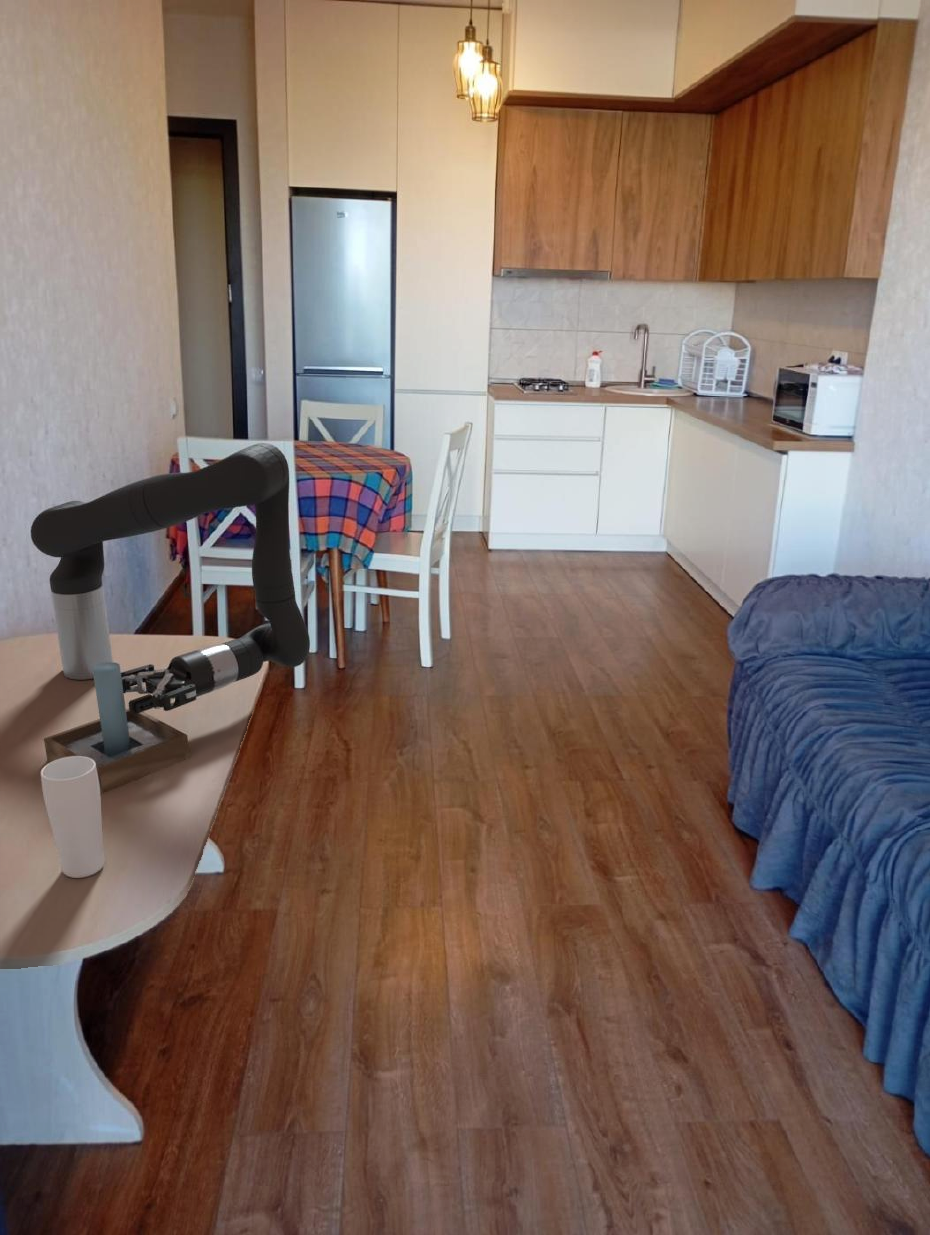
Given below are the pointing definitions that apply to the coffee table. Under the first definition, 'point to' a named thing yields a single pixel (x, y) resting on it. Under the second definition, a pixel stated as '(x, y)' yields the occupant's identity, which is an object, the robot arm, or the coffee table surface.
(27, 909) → the coffee table surface
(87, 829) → the drinking glass
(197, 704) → the coffee table surface
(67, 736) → the walnut crate
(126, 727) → the blue-grey painted peg
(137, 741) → the grey metal bore plate
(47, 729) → the coffee table surface
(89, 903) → the coffee table surface
